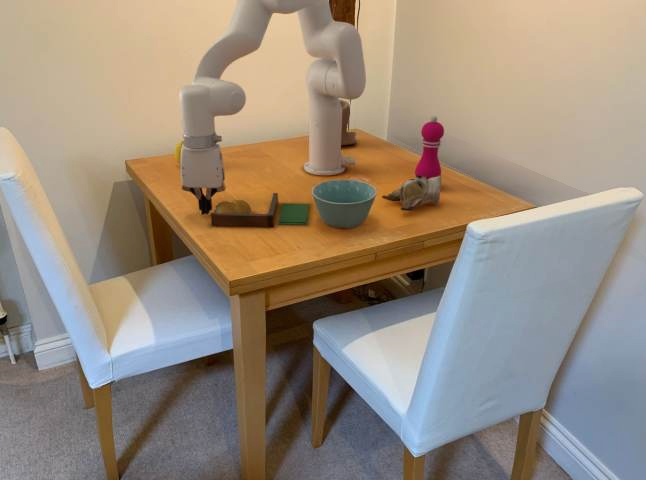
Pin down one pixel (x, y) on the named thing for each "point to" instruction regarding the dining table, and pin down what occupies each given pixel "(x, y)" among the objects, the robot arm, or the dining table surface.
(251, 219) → the corner guide
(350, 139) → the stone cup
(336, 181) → the bowl
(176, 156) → the lemon
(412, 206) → the ceramic sculpture
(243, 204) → the bread roll
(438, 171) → the pepper mill
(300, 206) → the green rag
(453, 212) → the dining table surface
